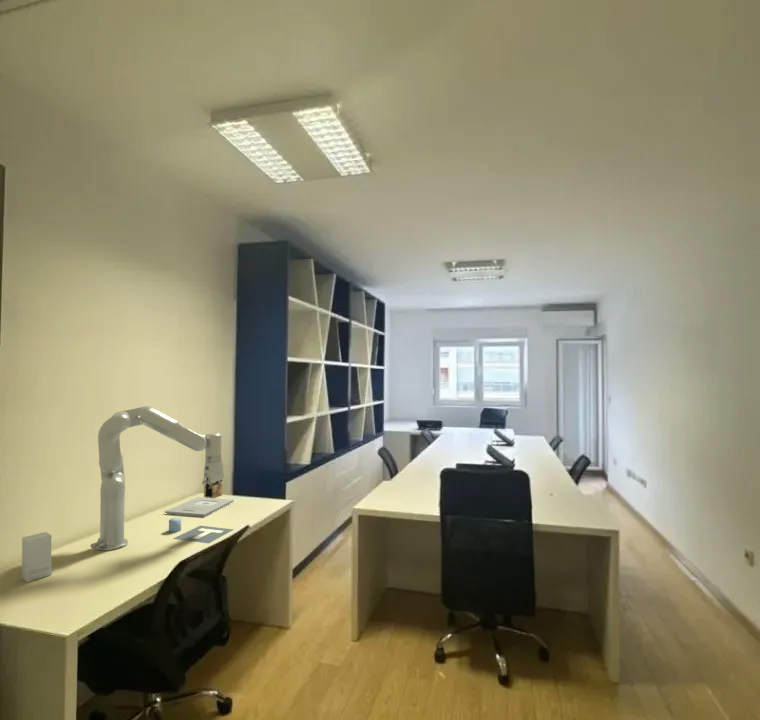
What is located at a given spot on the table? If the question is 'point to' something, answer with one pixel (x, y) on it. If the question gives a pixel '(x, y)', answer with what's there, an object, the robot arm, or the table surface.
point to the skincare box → (36, 556)
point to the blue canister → (175, 525)
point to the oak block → (214, 490)
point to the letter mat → (203, 534)
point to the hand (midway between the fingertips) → (213, 494)
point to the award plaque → (199, 507)
